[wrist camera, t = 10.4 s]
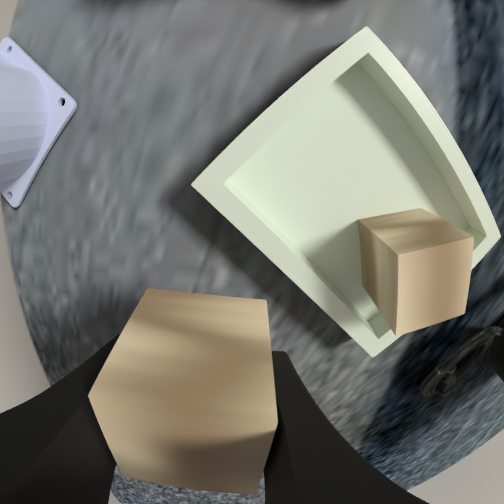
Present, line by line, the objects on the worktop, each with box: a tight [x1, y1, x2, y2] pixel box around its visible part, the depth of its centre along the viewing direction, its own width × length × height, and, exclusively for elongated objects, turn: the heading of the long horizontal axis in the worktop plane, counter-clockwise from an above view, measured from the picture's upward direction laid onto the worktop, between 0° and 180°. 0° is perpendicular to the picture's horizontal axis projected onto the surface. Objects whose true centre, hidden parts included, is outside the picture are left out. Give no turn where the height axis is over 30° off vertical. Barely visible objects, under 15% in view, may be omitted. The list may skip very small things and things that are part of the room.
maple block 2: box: [358, 208, 474, 336], centre depth 14 cm, size 4×4×5 cm
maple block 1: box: [88, 288, 278, 494], centre depth 8 cm, size 4×4×5 cm
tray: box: [191, 26, 501, 357], centre depth 15 cm, size 14×11×2 cm
